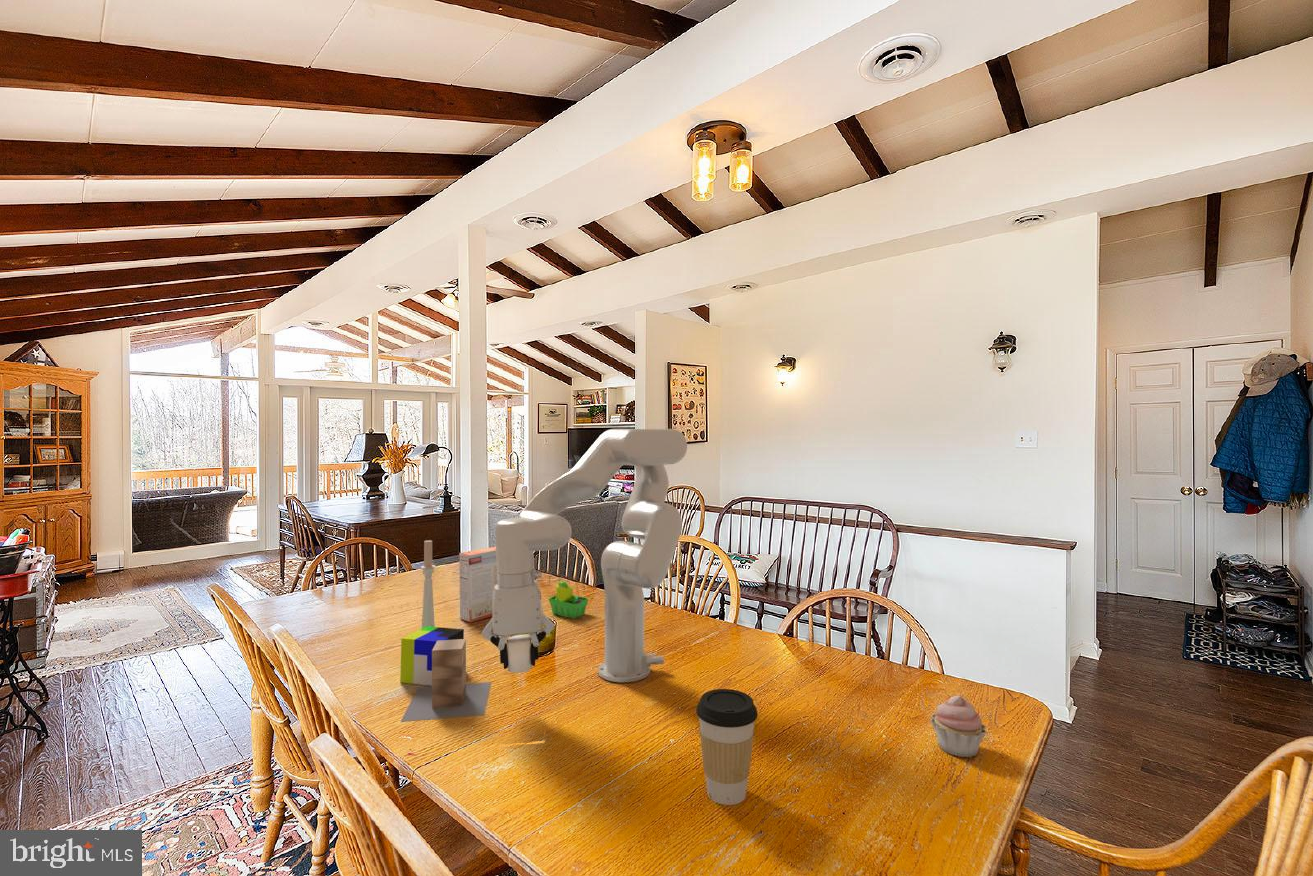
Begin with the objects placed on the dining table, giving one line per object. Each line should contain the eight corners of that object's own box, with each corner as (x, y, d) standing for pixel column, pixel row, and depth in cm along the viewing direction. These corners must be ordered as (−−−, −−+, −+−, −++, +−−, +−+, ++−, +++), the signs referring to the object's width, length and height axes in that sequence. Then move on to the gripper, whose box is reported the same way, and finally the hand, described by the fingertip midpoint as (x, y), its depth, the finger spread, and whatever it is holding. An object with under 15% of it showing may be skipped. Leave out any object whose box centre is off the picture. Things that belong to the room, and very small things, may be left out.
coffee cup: (750, 774, 99) (751, 686, 99) (763, 812, 90) (763, 714, 89) (693, 775, 99) (693, 687, 99) (699, 813, 89) (699, 715, 89)
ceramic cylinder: (532, 661, 125) (531, 633, 125) (531, 671, 120) (530, 642, 120) (508, 664, 124) (507, 636, 124) (506, 674, 119) (505, 645, 119)
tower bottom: (465, 693, 129) (465, 666, 129) (461, 705, 123) (461, 677, 123) (437, 695, 128) (437, 668, 128) (431, 708, 122) (432, 679, 122)
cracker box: (497, 609, 192) (497, 545, 192) (508, 612, 188) (508, 547, 188) (458, 619, 181) (458, 552, 181) (469, 623, 177) (469, 554, 177)
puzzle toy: (439, 686, 132) (440, 641, 133) (400, 682, 134) (401, 638, 135) (462, 670, 142) (463, 629, 142) (425, 667, 144) (426, 626, 144)
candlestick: (455, 659, 150) (455, 541, 149) (400, 666, 145) (400, 545, 145) (452, 642, 162) (452, 533, 161) (402, 648, 157) (402, 536, 157)
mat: (491, 683, 135) (491, 682, 135) (484, 716, 119) (484, 714, 119) (418, 689, 132) (418, 687, 132) (400, 723, 116) (400, 721, 116)
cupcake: (957, 767, 102) (957, 710, 102) (919, 740, 111) (919, 687, 111) (999, 759, 105) (1000, 703, 104) (959, 733, 114) (959, 682, 113)
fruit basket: (590, 614, 187) (590, 578, 187) (572, 621, 180) (572, 584, 180) (563, 608, 193) (563, 574, 193) (544, 615, 186) (544, 579, 186)
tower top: (465, 666, 129) (465, 639, 129) (461, 677, 123) (462, 648, 123) (437, 668, 128) (437, 640, 128) (432, 679, 122) (431, 650, 122)
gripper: (557, 570, 127) (560, 653, 127) (475, 577, 123) (479, 662, 124) (558, 580, 119) (561, 667, 120) (471, 587, 116) (475, 677, 117)
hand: (519, 663), depth 122 cm, fingers closed on ceramic cylinder, 5 cm apart
